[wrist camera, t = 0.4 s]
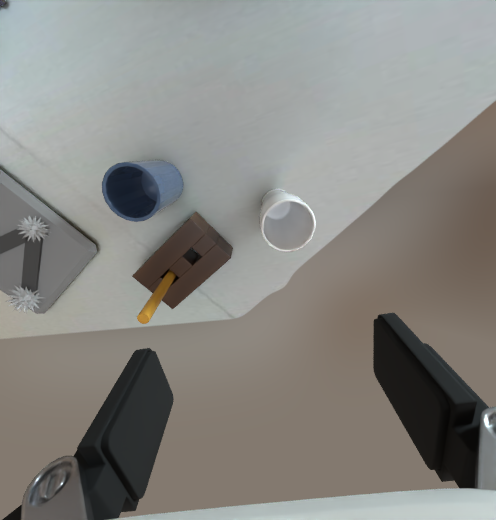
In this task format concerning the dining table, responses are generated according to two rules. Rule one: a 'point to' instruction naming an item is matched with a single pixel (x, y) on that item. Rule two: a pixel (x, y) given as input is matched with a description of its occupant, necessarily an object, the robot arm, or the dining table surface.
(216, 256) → the brown wooden block
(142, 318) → the orange rod
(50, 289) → the decorative plate
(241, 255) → the dining table surface
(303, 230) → the drinking glass
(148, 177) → the tumbler
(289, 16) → the dining table surface
